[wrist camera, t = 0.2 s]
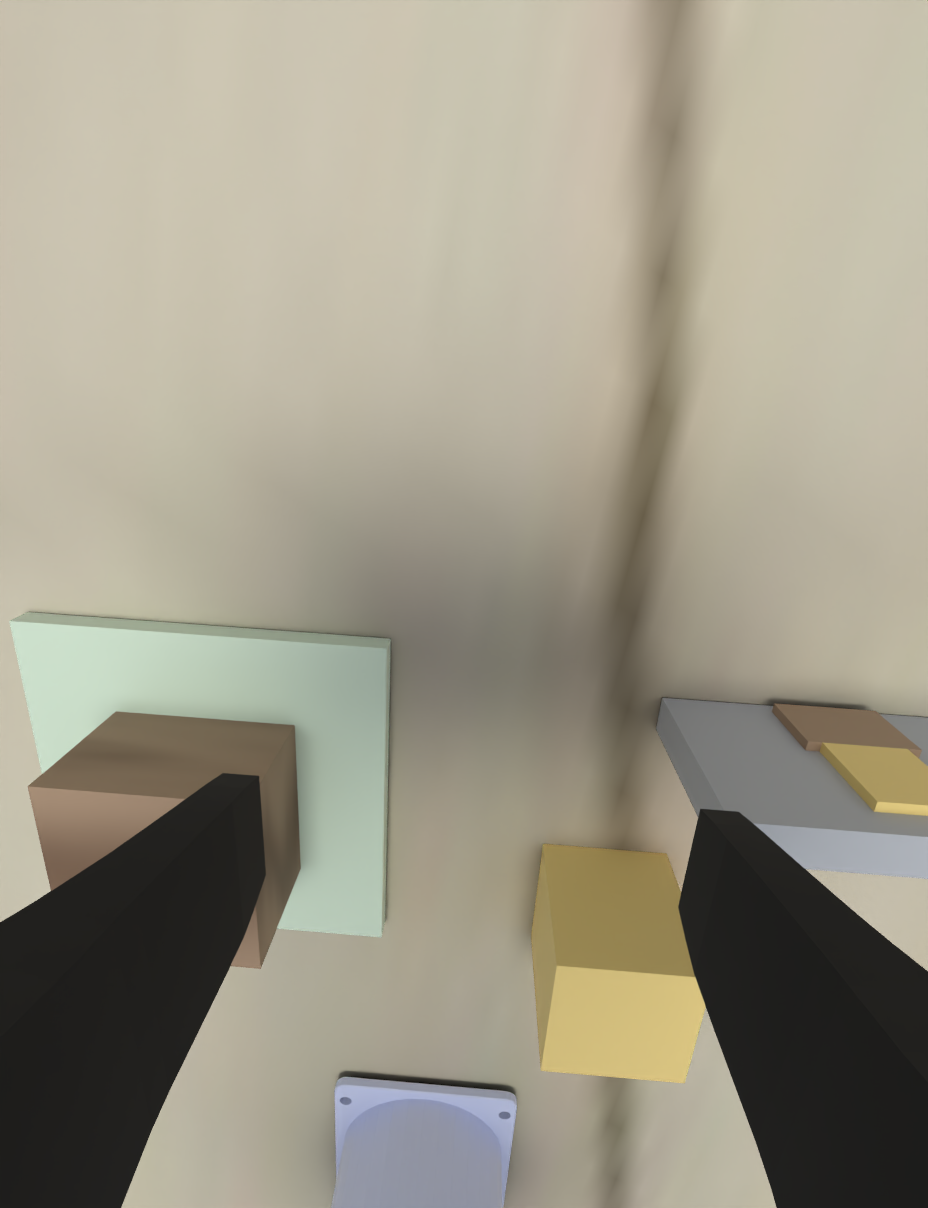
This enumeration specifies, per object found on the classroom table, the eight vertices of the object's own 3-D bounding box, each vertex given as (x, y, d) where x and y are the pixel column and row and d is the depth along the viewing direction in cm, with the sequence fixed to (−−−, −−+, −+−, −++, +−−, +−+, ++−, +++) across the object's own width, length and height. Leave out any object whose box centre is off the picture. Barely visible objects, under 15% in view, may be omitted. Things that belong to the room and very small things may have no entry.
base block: (300, 868, 22) (260, 968, 18) (138, 855, 22) (64, 952, 18) (294, 725, 20) (248, 804, 16) (115, 711, 20) (27, 786, 16)
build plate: (385, 919, 23) (381, 937, 23) (84, 894, 24) (71, 911, 23) (390, 638, 19) (386, 648, 19) (27, 612, 20) (9, 621, 19)
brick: (645, 944, 23) (684, 1083, 19) (531, 934, 24) (540, 1070, 19) (665, 852, 22) (713, 978, 17) (542, 842, 22) (557, 965, 17)
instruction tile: (958, 752, 20) (1143, 896, 14) (656, 729, 20) (719, 861, 14) (974, 712, 19) (1173, 845, 14) (663, 689, 20) (733, 810, 14)
